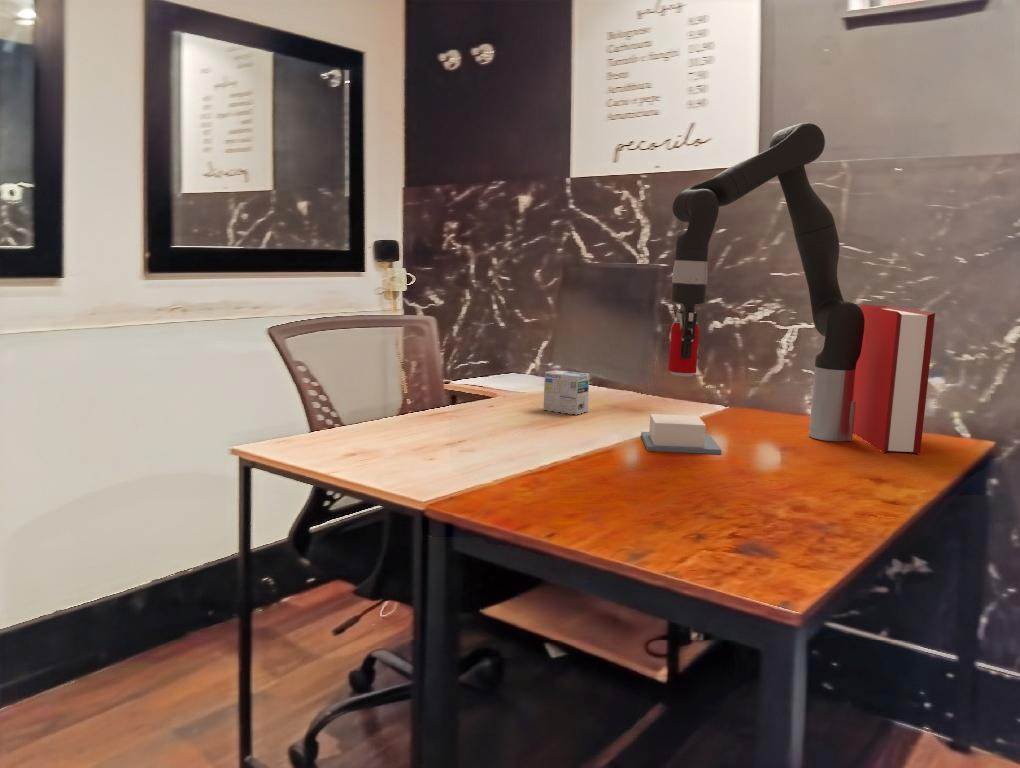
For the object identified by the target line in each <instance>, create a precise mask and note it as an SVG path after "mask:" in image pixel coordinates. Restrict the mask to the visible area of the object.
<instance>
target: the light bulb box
mask: <svg viewBox="0 0 1020 768" xmlns="http://www.w3.org/2000/svg"><path fill="white" fill-rule="evenodd" d="M589 388H590V373H583V372H575V371H565V370H564V371H562V370H556V369H555V370H550V371H546V372H544V387H543V389H544V390H543V411H544V410H547V411H546V412H551V411H554V412H553V413H558V412H561V414H565V413H568V414H567V415H572V414H575V415H574V416H578V415H577V414H579V415H581V413H582V414H585V413H584V412H586V413H589V396H590V395H589V393H590V389H589Z"/></svg>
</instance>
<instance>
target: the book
mask: <svg viewBox="0 0 1020 768" xmlns="http://www.w3.org/2000/svg"><path fill="white" fill-rule="evenodd" d="M859 307H860V308H861V310H862V311H863V314H864V320H865V326H864V335H863V342H862V349H861V354H860V357H859V359H858V361H857V363H856V372H855V381H854V382H855V383H854V393H853V401H855V403H856V405H855V415H854V426H853V433H854V434H853V435H855V434H856V435H857V436H856V435H855V436H856V437H858V436H859V437H861V438H862V439H863V440H862V439H861V438H860V439H861V440H862V441H864V440H865V441H867V442H868V443H870V444H871V445H873V446H874V447H876V448H877V449H879V450H881V451H882V452H885V453H887V452H902V453H903V452H904V453H905V452H906V453H907V452H909V453H914V454H916V453H919V454H920V455H921V449H922V441H923V431H924V421H925V412H926V411H925V410H926V403H927V395H928V393H927V392H928V383H929V374H930V365H931V356H932V346H933V336H934V328H935V320H936V319H935V317H936V312H933V311H926V310H919V309H913V308H908V307H907V308H906V307H900V306H894V305H893V306H892V305H880V304H879V305H875V304H874V305H873V304H872V305H871V304H870V305H869V304H860V305H859ZM859 437H858V438H859ZM865 441H864V442H865ZM867 442H866V443H867ZM868 443H867V444H868ZM870 444H869V445H870ZM871 445H870V446H871ZM873 446H872V447H873ZM874 447H873V448H874ZM876 448H875V449H876ZM877 449H876V450H877ZM879 450H878V451H879ZM882 452H881V453H882Z"/></svg>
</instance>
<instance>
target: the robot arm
mask: <svg viewBox="0 0 1020 768" xmlns="http://www.w3.org/2000/svg"><path fill="white" fill-rule="evenodd" d="M825 145H826V139H825V134H824V132H823V130H822V129H821V127H820V126H818V125H816V124H815V123H812V122H803V123H798V124H794V125H792V126H788V127H785V128H783V129H780V130H778V131H776V132H774V134H773V136H772V137H771V139H770V143H769V148H768V149H766V150H764V151H762V152H760V153H758V154H756V155H754V156H751V157H749V158H747V159H744V160H741V161H740V162H738V163H736V164H734V165H731V166H730V167H727V169H724V170H723V171H721V172H720V173H718V174H716V175H714V176H713V177H711V178H710V179H707V180H705V181H702V182H699V183H698V184H695V185H692V186H690V187H687V188H685V189H684V190H682V191H680V192H679V193H678V194H677V195H676V197H674V200H673V204H672V213H673V215H674V217H675V218H676V219H677V220H679V221H680V222H683V223H688V225H687V229H686V231H685V232H684V233H682V234H680V235H679V236H678V237H677V239H676V241H675V242H676V244H675V257H674V264H673V269H672V279H671V280H672V281H671V289H670V290H671V292H670V293H671V294H670V301H671V302H672V303H674V304H680V308H677V310H676V311H677V312H676V321H677V322H680V329H679V330H680V331H681V332H682V335H681V341H682V342H681V355H680V356H681V358H683V359H690V358H691V350H692V342H693V340H694V339H695V330H696V322H697V320H698V319H697V318H698V312H696V311H695V308H696V307H695V305H704V304H705V303H706V295H707V283H708V258H709V243H710V241H711V238H712V236H713V232H714V230H715V226H716V222H717V220H718V217H719V210H720V209H719V208H720V207H725V206H728V205H730V204H732V203H733V204H734V202H736V201H737V200H740V199H741V198H743V197H745V196H746V195H748V194H749V193H750V192H752V191H754V190H756V189H757V188H759V187H760V186H762V185H764V184H765V183H768V182H769V181H771V180H772V179H774V178H776V177H777V179H778V181H779V183H780V186H781V189H782V192H783V196H784V199H785V203H786V206H787V210H788V213H789V217H790V222H791V224H792V229H793V234H794V238H795V243H796V246H797V249H798V250H797V251H798V253H799V256H800V261H801V263H802V268H803V271H804V272H803V273H804V275H805V280H806V283H807V287H808V293H809V299H810V307H811V314H812V321H813V326H814V327H815V330H817V332H818V333H819V334H820V335H821V336H822V337H824V344H823V348H822V350H821V352H819V353H818V354H817V355H816V356H815V360H814V361H815V362H814V371H813V372H814V373H813V385H812V396H811V397H812V398H811V406H810V407H811V408H810V419H809V420H810V421H809V428H808V430H809V431H808V436H809V437H810V438H812V439H816V440H820V441H827V442H846V441H847V442H848V441H849V442H852V441H853V437H854V436H853V435H854V434H853V426H854V415H855V405H856V403H855V401H853V393H854V383H855V382H854V381H855V372H856V363H857V361H858V359H859V357H860V354H861V349H862V342H863V335H864V326H865V320H864V314H863V311H862V310H861V308H860V305H858V304H856V303H854V302H851V301H845V300H844V297H843V295H842V292H841V291H842V290H841V289H840V284H839V281H838V280H839V279H838V266H839V258H840V239H839V235H838V231H837V227H836V222H835V218H834V216H833V214H832V212H831V210H830V209H829V207H828V206H827V205H826V203H825V202H824V201H823V200H822V198H820V197H819V195H818V194H817V193H816V191H815V190H814V189H813V187H812V186H811V183H810V181H809V178H808V175H807V171H806V168H805V165H808V164H811V163H813V162H815V161H816V160H817V159H818V158H819V157H820V156H821V155H822V154H823V151H824V149H825V147H826V146H825ZM682 322H683V324H684V327H683V325H682ZM686 331H690V332H691V334H686Z"/></svg>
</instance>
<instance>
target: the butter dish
mask: <svg viewBox="0 0 1020 768" xmlns="http://www.w3.org/2000/svg"><path fill="white" fill-rule="evenodd" d="M706 426H707V425H706V424H705V422H704V421H703V420H702V419H701V418H700V417H699V415H687V414H686V415H685V414H684V415H683V414H682V415H681V414H680V415H679V414H663V413H662V414H659V413H658V414H657V413H650V415H649V430H648V431H640V432H641V433H640V436H641V438H642V439H641V440H642V441H643V443H644V446H645V448H646V451H648V452H661V453H662V452H665V453H681V454H683V453H685V454H686V453H689V454H705V455H706V454H709V455H722V448H721V447H720V446H719V445H718V444H717V442H716V441H715V440H714V439H713V438H712V436H711V435H710V434H708V433H706V431H707V430H706V428H707V427H706Z"/></svg>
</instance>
